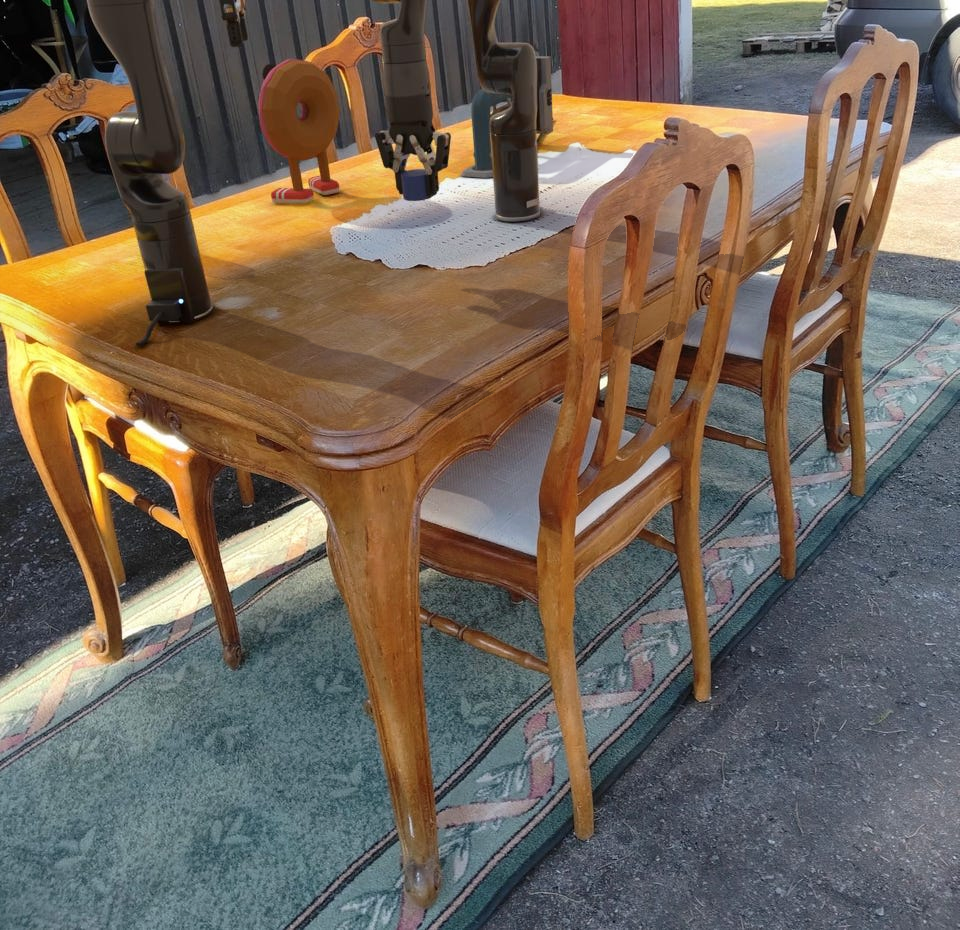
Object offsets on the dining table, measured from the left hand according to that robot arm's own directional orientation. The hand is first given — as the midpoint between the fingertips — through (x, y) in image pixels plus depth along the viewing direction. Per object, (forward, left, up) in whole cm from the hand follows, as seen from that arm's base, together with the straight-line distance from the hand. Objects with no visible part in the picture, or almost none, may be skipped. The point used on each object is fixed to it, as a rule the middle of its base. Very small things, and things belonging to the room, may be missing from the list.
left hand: (239, 43), depth 173 cm
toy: (+39, +4, -38) cm, 55 cm away
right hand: (-17, -33, -24) cm, 44 cm away
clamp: (+66, -40, -38) cm, 86 cm away
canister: (-17, -33, -24) cm, 44 cm away
